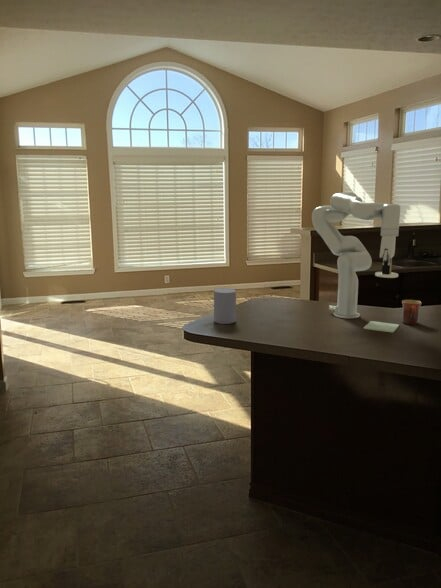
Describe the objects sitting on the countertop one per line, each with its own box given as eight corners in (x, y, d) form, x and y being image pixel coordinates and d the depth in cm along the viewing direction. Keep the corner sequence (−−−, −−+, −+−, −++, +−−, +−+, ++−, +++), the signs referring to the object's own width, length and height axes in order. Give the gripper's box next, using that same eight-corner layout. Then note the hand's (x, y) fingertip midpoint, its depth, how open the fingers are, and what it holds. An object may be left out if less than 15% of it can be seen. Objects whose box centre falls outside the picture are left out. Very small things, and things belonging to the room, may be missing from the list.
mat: (363, 328, 236) (363, 327, 236) (370, 322, 248) (370, 321, 247) (393, 332, 230) (393, 331, 230) (399, 325, 241) (399, 324, 241)
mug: (399, 320, 252) (400, 299, 249) (418, 321, 250) (419, 300, 248) (402, 326, 240) (404, 304, 238) (422, 327, 238) (424, 305, 236)
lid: (372, 276, 232) (373, 263, 231) (377, 273, 241) (378, 260, 240) (396, 278, 228) (397, 265, 226) (399, 275, 236) (400, 261, 235)
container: (216, 318, 254) (216, 288, 251) (237, 319, 252) (237, 289, 249) (211, 323, 244) (211, 292, 241) (233, 325, 242) (233, 293, 239)
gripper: (384, 230, 239) (381, 270, 243) (376, 233, 225) (374, 275, 229) (401, 231, 236) (398, 271, 240) (395, 234, 221) (391, 277, 225)
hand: (386, 273), depth 234 cm, fingers closed on lid, 3 cm apart
